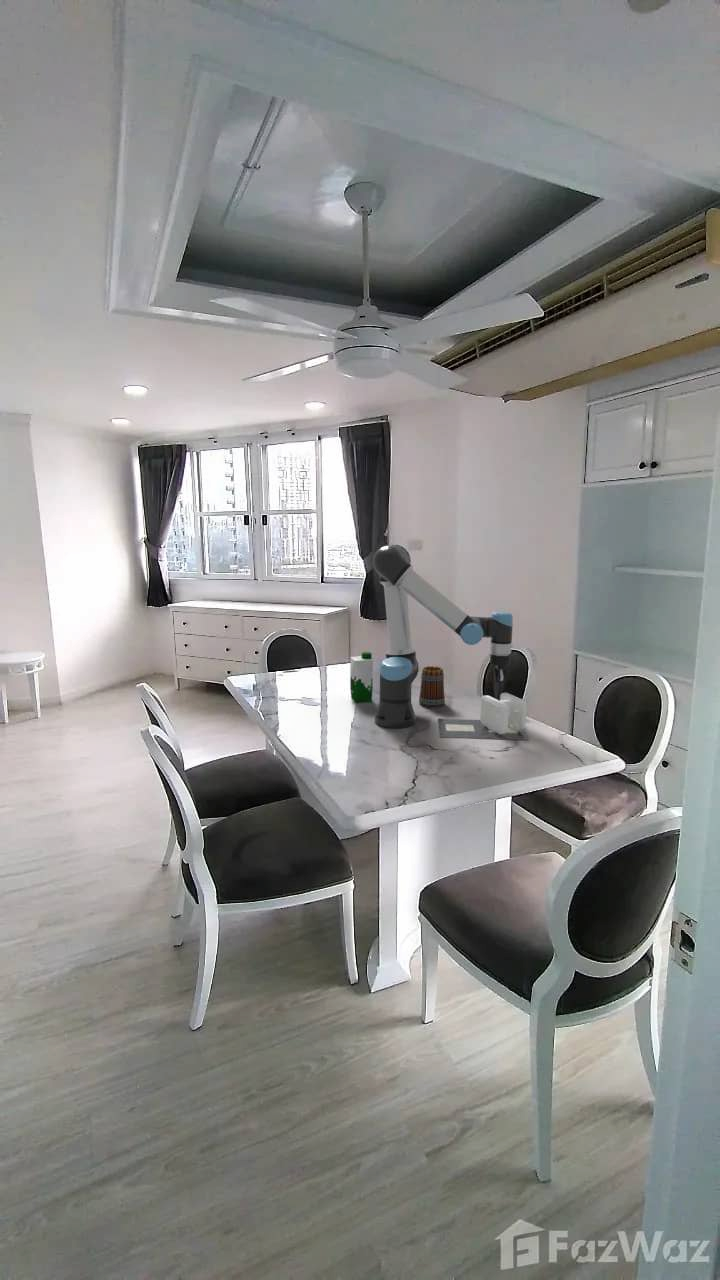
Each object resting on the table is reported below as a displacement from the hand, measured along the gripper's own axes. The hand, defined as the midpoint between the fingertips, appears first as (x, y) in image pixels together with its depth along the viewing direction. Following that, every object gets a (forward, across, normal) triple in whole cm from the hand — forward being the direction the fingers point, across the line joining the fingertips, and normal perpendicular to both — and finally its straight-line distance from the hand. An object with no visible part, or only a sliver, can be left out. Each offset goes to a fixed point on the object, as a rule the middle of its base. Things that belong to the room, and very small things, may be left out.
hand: (497, 714), depth 229 cm
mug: (+2, +19, +24) cm, 31 cm away
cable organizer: (+2, -13, 0) cm, 13 cm away
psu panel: (+2, -13, +8) cm, 15 cm away
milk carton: (+2, +20, +53) cm, 57 cm away
